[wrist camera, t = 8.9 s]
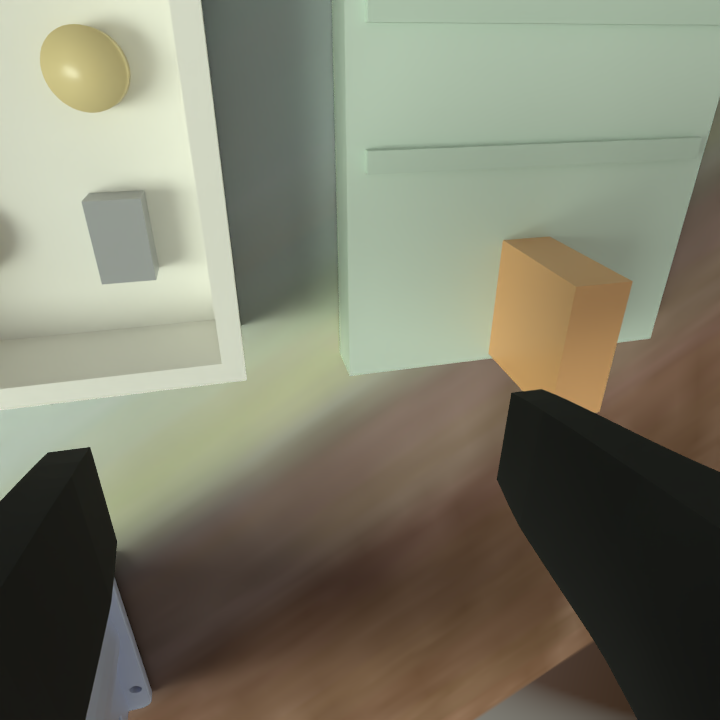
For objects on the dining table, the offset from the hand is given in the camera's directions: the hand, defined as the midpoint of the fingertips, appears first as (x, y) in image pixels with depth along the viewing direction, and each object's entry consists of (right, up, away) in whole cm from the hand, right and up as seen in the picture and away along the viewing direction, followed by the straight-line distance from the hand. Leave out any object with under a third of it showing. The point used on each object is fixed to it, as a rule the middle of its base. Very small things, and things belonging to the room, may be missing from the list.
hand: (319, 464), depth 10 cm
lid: (+6, +8, +7) cm, 12 cm away
